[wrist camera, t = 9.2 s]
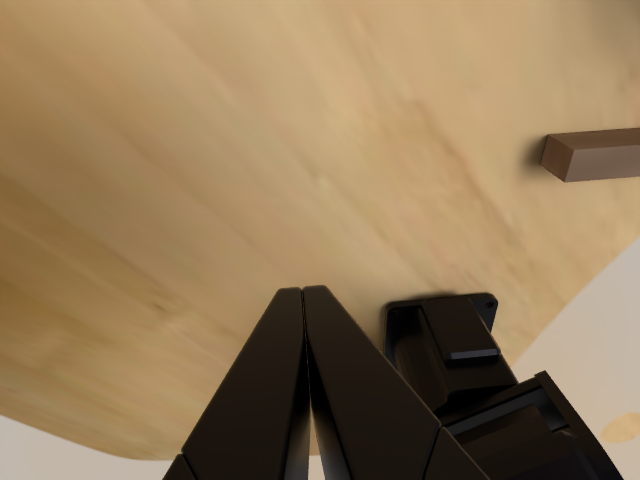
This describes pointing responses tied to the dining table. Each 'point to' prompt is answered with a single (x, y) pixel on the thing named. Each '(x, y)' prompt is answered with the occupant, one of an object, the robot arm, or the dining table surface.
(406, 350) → the robot arm
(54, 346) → the dining table surface
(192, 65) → the dining table surface
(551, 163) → the bay
